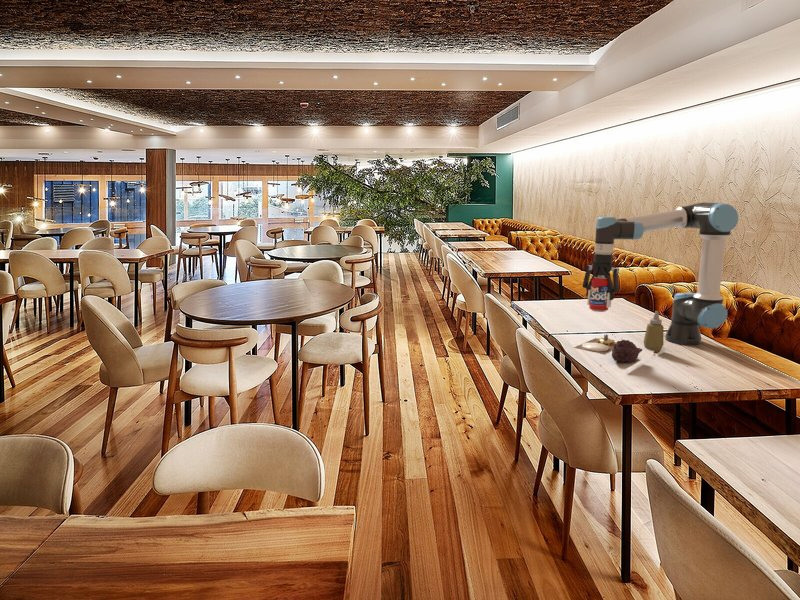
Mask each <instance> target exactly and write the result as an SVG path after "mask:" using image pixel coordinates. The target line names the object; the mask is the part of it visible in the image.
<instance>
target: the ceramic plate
mask: <svg viewBox="0 0 800 600" xmlns="http://www.w3.org/2000/svg"><path fill="white" fill-rule="evenodd" d="M581 344H582V347H583V348H584V349H586V350H590V351H589V352H591V351H597V352H603V351H608V350H609V347H608V346H607V345H604V344H600V343H585V342H584V344H583V343H581ZM586 350H585V351H586Z"/></svg>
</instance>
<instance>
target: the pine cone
mask: <svg viewBox="0 0 800 600" xmlns="http://www.w3.org/2000/svg"><path fill="white" fill-rule="evenodd" d="M616 342H617V344H615V345H614V346H613V348H614V349H613V350H612V351H611V357H612V359H613V360H614V361H617V362H619V363H620V362H621V363H627V364H632V363H635V362H636V361H637V360H638V358H639V354H640V353H641V352H643V349H642V348H640V347H637V345H636V344H635V343H634V342H633V341H630V340H629V339H621V340H617V341H616Z"/></svg>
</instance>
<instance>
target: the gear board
mask: <svg viewBox="0 0 800 600" xmlns="http://www.w3.org/2000/svg"><path fill="white" fill-rule="evenodd" d="M597 338H598V337H595V338H593V339H590V340H587V341H585V342H584V343H597ZM584 343H581V344H578V345H576V346H574V347H573V348H574V349H579V350H583V351H586V352H587V351H588V352H591V353H597V354H601V355H605V356H606V355H607V354H609V353H612V350H613V349H614V348H613V346H614V345H615V344H617V341H614V345H610V346H608V347H609V350H608V351H603V352H597V351H590V350H586V349H584V348H583V347H582V344H584Z"/></svg>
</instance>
